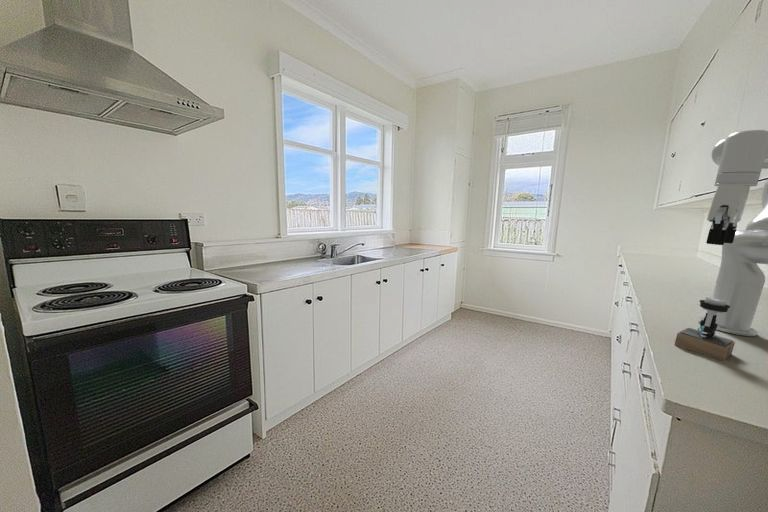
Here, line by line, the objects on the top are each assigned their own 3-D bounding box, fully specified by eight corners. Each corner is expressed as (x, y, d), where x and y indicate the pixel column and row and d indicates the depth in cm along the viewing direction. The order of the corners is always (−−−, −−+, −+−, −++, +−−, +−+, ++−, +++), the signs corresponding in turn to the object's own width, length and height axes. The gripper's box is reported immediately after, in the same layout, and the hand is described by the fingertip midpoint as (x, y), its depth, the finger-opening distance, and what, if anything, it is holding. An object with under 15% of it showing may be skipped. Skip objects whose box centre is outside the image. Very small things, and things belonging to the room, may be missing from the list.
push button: (716, 343, 74) (728, 305, 72) (687, 334, 78) (697, 298, 76) (722, 337, 77) (733, 301, 76) (693, 329, 82) (703, 295, 80)
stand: (684, 339, 84) (687, 326, 84) (731, 354, 77) (735, 340, 76) (674, 344, 80) (677, 331, 80) (722, 361, 73) (727, 346, 72)
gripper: (723, 182, 86) (709, 240, 90) (706, 178, 78) (691, 243, 81) (764, 182, 80) (747, 244, 84) (751, 177, 71) (732, 247, 75)
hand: (719, 243), depth 82 cm, fingers open, 9 cm apart
